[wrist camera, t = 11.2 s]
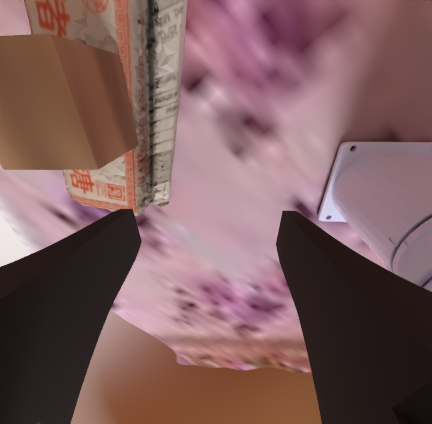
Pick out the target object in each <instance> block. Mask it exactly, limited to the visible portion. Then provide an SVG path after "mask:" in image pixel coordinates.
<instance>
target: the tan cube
mask: <svg viewBox="0 0 432 424" xmlns="http://www.w3.org/2000/svg"><path fill="white" fill-rule="evenodd" d="M138 145H139V142H138V138H137V133H136V129H135V124H134V120H133V115H132V111H131V107H130V102H129V98H128V93H127V89H126V84H125V80H124V75H123V71H122V66H121V62H120V57H119V54H115V53H112V52H109V51H106V50H102V49H99V48H96V47H92V46H89V45H86V44H83V43H79V42H76V41H73V40H69V39H66V38H63V37H60V36H56V35H53V34H34V35H14V36H0V164H1V166H2V167H3V169H4V170H99V169H100V168H102V167H104V166H105V165H107V164H109V163H110V162H112V161H114V160H115V159H117V158H118V157H120V156H122V155H123V154H125V153H127V152H128V151H130V150H132V149H133V148H135V147H137V146H138Z"/></svg>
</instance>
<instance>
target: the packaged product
mask: <svg viewBox="0 0 432 424" xmlns="http://www.w3.org/2000/svg"><path fill="white" fill-rule="evenodd" d="M24 2H25V6H26V10H27V14H28V18H29V23H30V28H31V34H32V35H34V34H53V35H56V36H60V37H63V38H66V39H69V40H73V41H76V42H79V43H83V44H86V45H89V46H92V47H96V48H99V49H102V50H106V51H109V52H112V53H115V54H119V57H120V62H121V66H122V71H123V75H124V80H125V84H126V89H127V93H128V98H129V102H130V107H131V111H132V115H133V120H134V124H135V129H136V133H137V138H138V142H139V145H138V146H137V147H135V148H133V149H132V150H130V151H128V152H127V153H125V154H123V155H122V156H120V157H118V158H117V159H115V160H114V161H112V162H110V163H109V164H107V165H105V166H104V167H102V168H100V169H99V170H63V174H64V177H65V182H66V187H67V191H68V193H69V195H70V197H71V198H73V199H74V200H76V201H79V203H80V204H82V205H84V206H94V207H99V208H104V209H108V210H110V211H116V210H119V209H133V212H134V215H135V216H139V215H140V214H141V213H143V212H144V209H145V208H146V207H148V206H149V205H150V204H152V205H157V206H160V207H161V206H164V205H167V204H168V203H169V199H170V188H171V172H172V164H173V157H174V149H175V137H176V127H177V117H178V109H179V99H180V87H181V73H182V62H183V52H184V39H185V26H186V12H187V0H24Z"/></svg>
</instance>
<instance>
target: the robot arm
mask: <svg viewBox="0 0 432 424" xmlns="http://www.w3.org/2000/svg"><path fill="white" fill-rule="evenodd" d="M352 146H354V149H353V150H351V151H350V148H351V147H352ZM329 215H330V216H329ZM327 216H329V217H327ZM326 217H327V218H326ZM318 219H319V220H320V221H336V222H348V223H349V225H350V226H351V227H352V228H353V229H354V230H355V231H356V233H357V234H358V235H359V236H360V237H361V238H362V239H363V240H364V242H365V243H366V244H367V245H368V246H369V247H370V248H371V249H372V251H373V252H374V253H375V254H376V255H377V256H378V257H379V258H380V260H381V261H382V262H383V263H384V264H385V265H386V266H387V267H388V269H389V270H390V271H391V272H390V271H388V270H386V269H384V268H383V267H381V266H379V265H377V264H375V263H374V262H372V261H370V260H368V259H367V258H365V257H363V256H361V255H360V254H358V253H356V252H355V251H353V250H352V249H350V248H349V247H347V246H345V245H344V244H342V243H341V242H339V241H338V240H336V239H335V238H333V237H332V236H331V235H329V234H328V233H326V232H325V231H324V230H322V229H321V228H319V227H318V226H317V225H315V224H314V223H313V222H311V221H310V220H308V219H307V218H306V217H304V216H303V215H302V214H300V213H298V212H297V211H283V212H282V217H281V222H280V227H279V232H278V237H277V242H276V246H277V251H278V256H279V261H280V264H281V267H282V270H283V273H284V276H285V278H286V281H287V284H288V287H289V290H290V292H291V295H292V298H293V301H294V303H295V306H296V309H297V313H298V316H299V320H300V324H301V328H302V332H303V336H304V340H305V344H306V348H307V353H308V357H309V361H310V366H311V370H312V375H313V380H314V384H315V390H316V394H317V399H318V404H319V410H320V415H321V421H322V424H432V142H344V143H342V144H341V145H340V147H339V150H338V153H337V157H336V160H335V163H334V166H333V169H332V172H331V175H330V178H329V182H328V185H327V188H326V191H325V194H324V197H323V200H322V204H321V207H320V210H319V213H318ZM141 242H142V241H141V237H140V234H139V230H138V226H137V223H136V219H135V215H134V212H133V209H119V210H116V211H114V212H112V213H110V214H108V215H106V216H105V217H103V218H101V219H99V220H97V221H96V222H94V223H92V224H90V225H88V226H87V227H85V228H83V229H81V230H79V231H77V232H76V233H74V234H72V235H70V236H68V237H66V238H64V239H62V240H60V241H58V242H56V243H54V244H52V245H50V246H48V247H46V248H44V249H42V250H40V251H37V252H35V253H33V254H31V255H29V256H26V257H24V258H21V259H19V260H17V261H14V262H12V263H10V264H7V265H4V266H2V267H0V424H70V423H71V420H72V417H73V413H74V410H75V407H76V403H77V399H78V397H79V393H80V390H81V387H82V384H83V381H84V378H85V375H86V372H87V369H88V366H89V363H90V360H91V357H92V355H93V352H94V349H95V347H96V344H97V341H98V338H99V335H100V333H101V330H102V328H103V325H104V323H105V320H106V318H107V315H108V313H109V311H110V308H111V306H112V304H113V302H114V300H115V298H116V296H117V294H118V292H119V290H120V288H121V287H122V285H123V283H124V281H125V279H126V277H127V275H128V273H129V271H130V269H131V267H132V265H133V263H134V261H135V259H136V256H137V254H138V251H139V248H140V245H141Z"/></svg>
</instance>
